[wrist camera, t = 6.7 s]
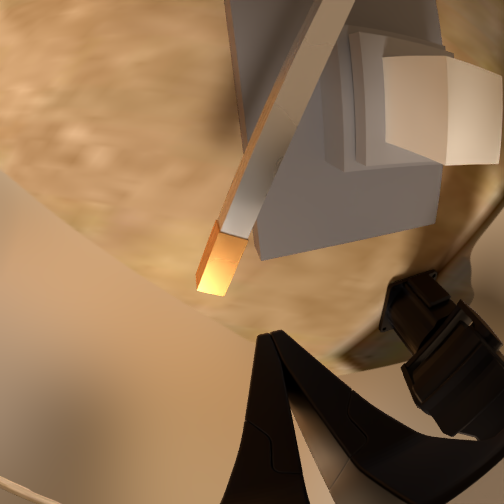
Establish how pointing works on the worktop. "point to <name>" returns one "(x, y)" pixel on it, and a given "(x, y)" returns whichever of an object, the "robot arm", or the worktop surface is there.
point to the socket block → (328, 130)
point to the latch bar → (270, 143)
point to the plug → (422, 104)
